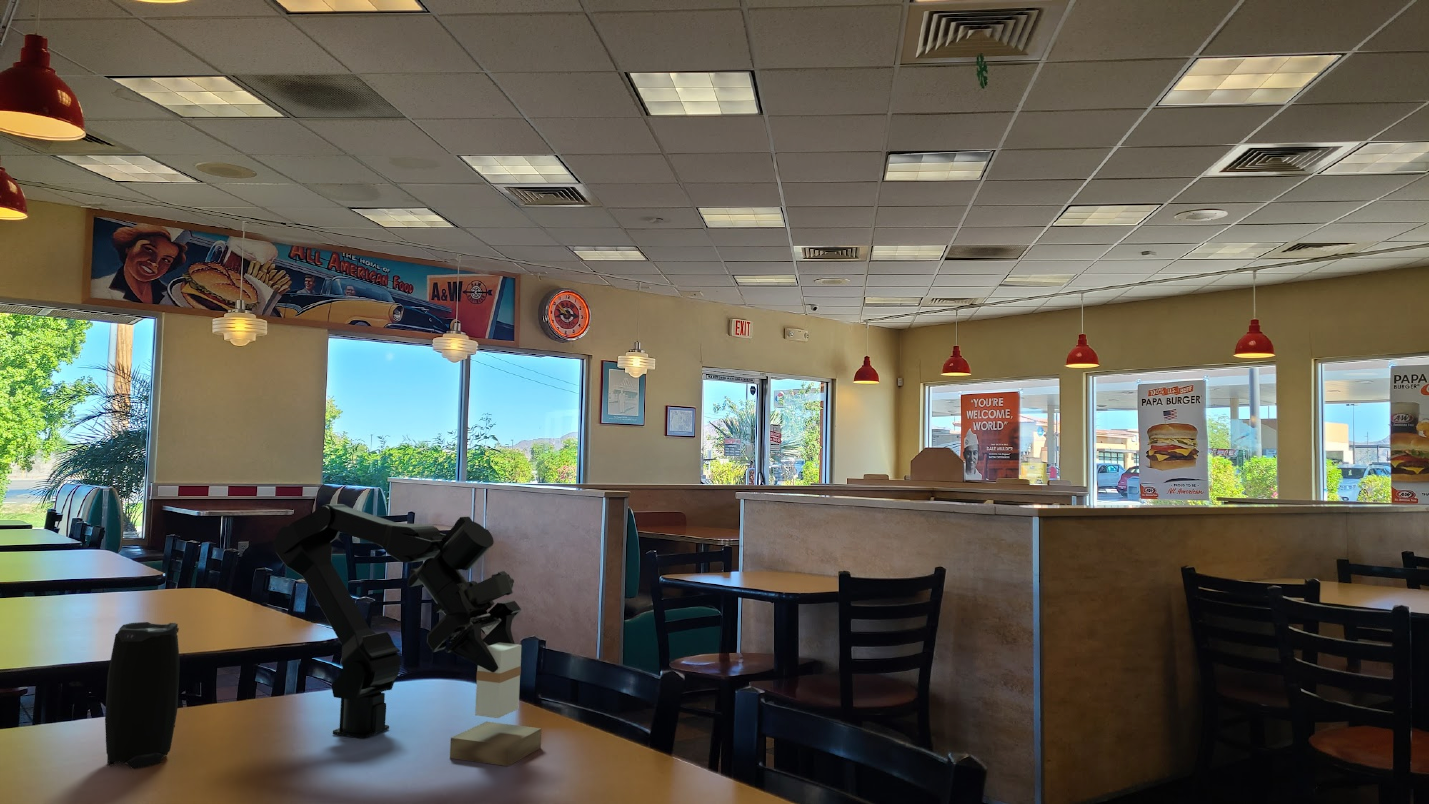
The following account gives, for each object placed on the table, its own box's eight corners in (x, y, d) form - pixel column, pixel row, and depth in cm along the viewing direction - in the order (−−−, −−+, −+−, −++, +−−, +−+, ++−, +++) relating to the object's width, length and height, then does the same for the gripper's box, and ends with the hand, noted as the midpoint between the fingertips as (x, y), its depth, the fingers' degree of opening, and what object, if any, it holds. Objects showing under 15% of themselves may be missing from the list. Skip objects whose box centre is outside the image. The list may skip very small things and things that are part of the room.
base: (449, 757, 143) (450, 737, 143) (485, 740, 152) (486, 721, 153) (507, 766, 140) (508, 745, 140) (540, 747, 149) (541, 728, 149)
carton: (474, 715, 144) (478, 649, 145) (496, 706, 150) (499, 642, 151) (498, 718, 143) (501, 651, 143) (518, 709, 149) (521, 644, 149)
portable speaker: (186, 752, 142) (194, 621, 143) (145, 772, 133) (155, 632, 134) (131, 750, 142) (140, 619, 144) (86, 769, 133) (97, 629, 134)
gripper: (447, 560, 140) (509, 642, 136) (513, 551, 158) (569, 623, 154) (400, 609, 142) (459, 692, 138) (470, 595, 160) (524, 667, 156)
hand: (506, 666), depth 146 cm, fingers closed on carton, 6 cm apart
